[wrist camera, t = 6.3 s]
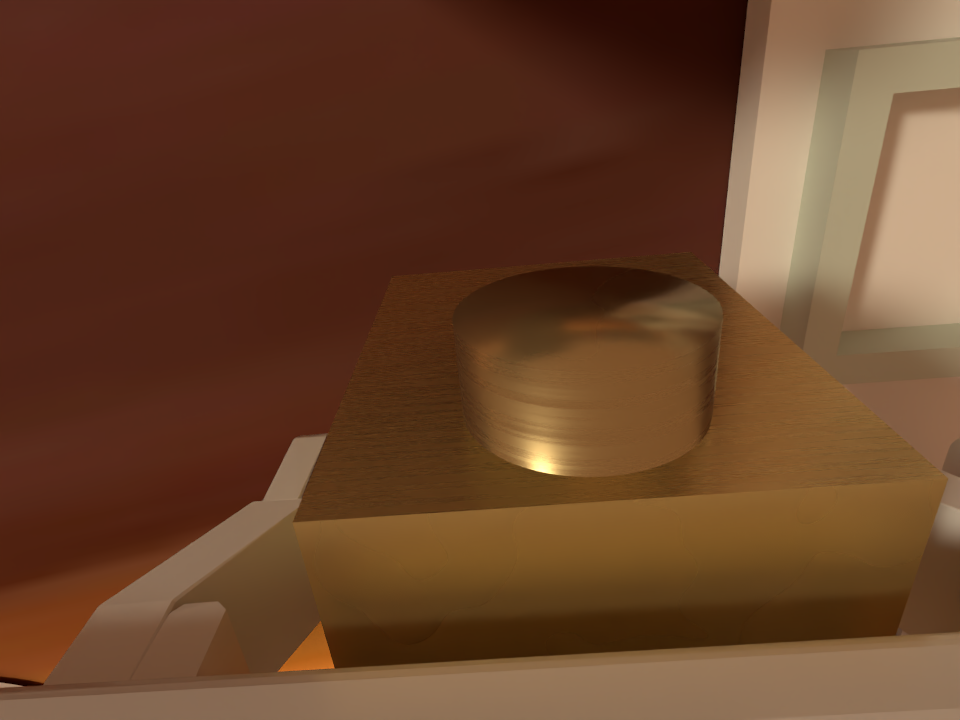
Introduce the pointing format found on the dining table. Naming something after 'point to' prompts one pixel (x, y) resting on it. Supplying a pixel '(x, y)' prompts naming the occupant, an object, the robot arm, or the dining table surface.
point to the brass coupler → (601, 475)
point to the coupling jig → (856, 200)
